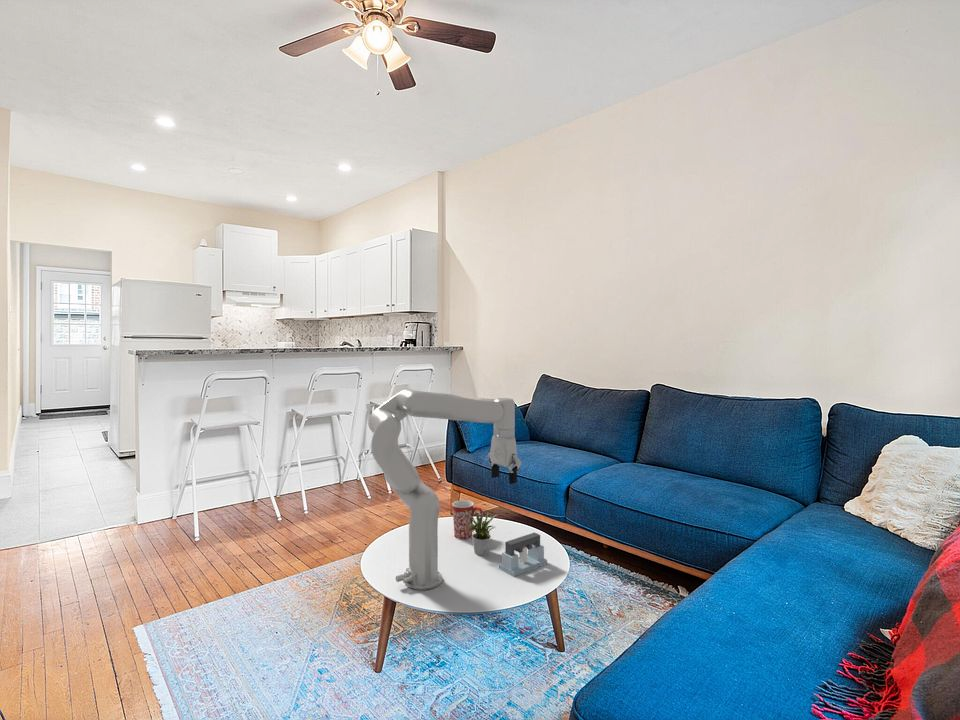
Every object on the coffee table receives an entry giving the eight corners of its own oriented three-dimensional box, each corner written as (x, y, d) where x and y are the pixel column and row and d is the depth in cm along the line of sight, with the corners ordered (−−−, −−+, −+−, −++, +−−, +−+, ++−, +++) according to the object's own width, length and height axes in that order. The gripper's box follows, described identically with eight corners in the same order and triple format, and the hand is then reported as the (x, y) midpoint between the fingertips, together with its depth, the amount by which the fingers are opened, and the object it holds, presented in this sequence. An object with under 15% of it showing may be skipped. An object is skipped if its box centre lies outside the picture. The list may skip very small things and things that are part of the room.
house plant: (452, 555, 187) (452, 512, 186) (470, 542, 199) (470, 501, 198) (486, 563, 180) (486, 518, 179) (502, 549, 192) (502, 507, 192)
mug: (450, 540, 201) (450, 507, 200) (453, 531, 210) (453, 499, 209) (482, 540, 200) (482, 507, 200) (483, 531, 209) (483, 500, 209)
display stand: (513, 576, 170) (513, 556, 170) (498, 568, 176) (498, 548, 176) (547, 563, 180) (547, 544, 179) (531, 556, 186) (531, 537, 186)
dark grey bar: (510, 556, 172) (511, 544, 172) (505, 553, 175) (505, 541, 175) (540, 545, 181) (540, 535, 181) (534, 543, 183) (534, 532, 183)
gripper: (481, 430, 183) (481, 476, 184) (512, 438, 169) (511, 487, 170) (496, 428, 187) (496, 473, 188) (528, 435, 174) (528, 484, 174)
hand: (503, 480), depth 179 cm, fingers open, 9 cm apart
